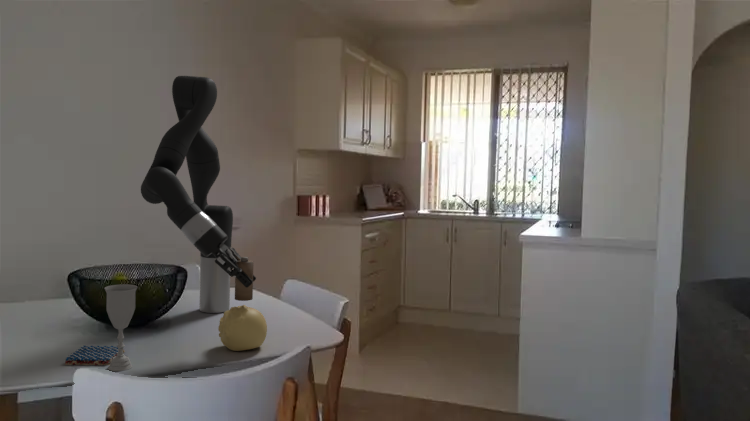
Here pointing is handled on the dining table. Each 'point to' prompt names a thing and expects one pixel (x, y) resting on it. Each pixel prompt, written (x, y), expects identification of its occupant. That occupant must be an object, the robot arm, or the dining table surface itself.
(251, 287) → the walnut pepper mill
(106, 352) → the woven mat
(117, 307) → the chalice
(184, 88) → the robot arm
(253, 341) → the sculpture
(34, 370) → the dining table surface
